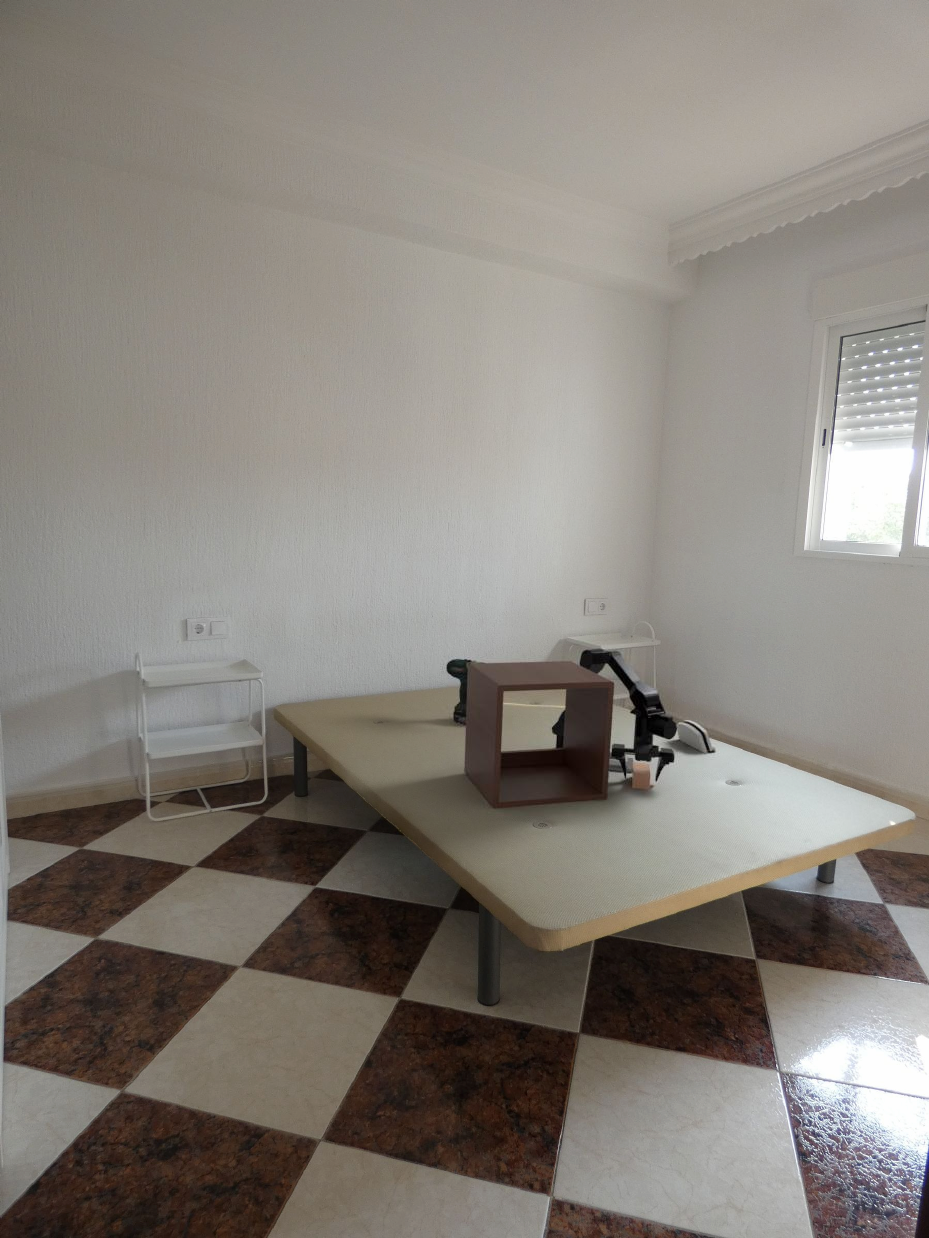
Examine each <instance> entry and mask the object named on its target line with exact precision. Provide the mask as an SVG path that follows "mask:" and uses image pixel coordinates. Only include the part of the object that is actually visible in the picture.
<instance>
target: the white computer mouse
mask: <svg viewBox="0 0 929 1238" xmlns="http://www.w3.org/2000/svg"><path fill="white" fill-rule="evenodd" d="M676 727H677V735H678V740H679V741H681V742H683V743H684V744H686V745H688V746H690V747H692V748H694V749H695V748H696V750H697V749H698V751H699V752H702V753H703V754H707V753H708V751H710V752H713V753H717V749H716V747H714V746H713V745H712V742H711V739H710V737H709V736H710V735H709V733H708V731H707V730H706V729H705V728H704V727H703V726H702V725H700V724H698V723H697V722H695V721H693V720H689V719H688V720H687V719H686V720H682V721H681V722H680V721H679V722H678V723H676Z"/></svg>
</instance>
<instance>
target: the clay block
mask: <svg viewBox="0 0 929 1238" xmlns="http://www.w3.org/2000/svg"><path fill="white" fill-rule="evenodd" d="M631 784H632V786H631V787H632V789H639V790H650V785H651V767H650V764H649V763H648V762H647V763H646V762H638V761H637V762H636V761H635V762H634V761H633V769H632V773H631Z"/></svg>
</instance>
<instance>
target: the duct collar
mask: <svg viewBox="0 0 929 1238" xmlns="http://www.w3.org/2000/svg"><path fill="white" fill-rule="evenodd" d="M611 752H612V751H610V761H609V771H611V772H612V771H613V772H622V773H623V769H622V766H621V764H620V762H619V760H616V759H615V757H612V756H611ZM625 760H626V773H631V774H632V769H633V762H634V758H633V757H628V754H625Z"/></svg>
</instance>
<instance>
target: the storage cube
mask: <svg viewBox="0 0 929 1238" xmlns="http://www.w3.org/2000/svg"><path fill="white" fill-rule="evenodd" d="M551 690H552V691H554V690H556V691H557V690H565V702H564V704H565V705H564V710H565V721H564V739H563V748H556V747H555V748H536V749H535V748H534V749H521V750H520V749H519V750H506V751H504V750H502V743H503V741H502V739H503V712H504V693H505V692H523V691H525V692H526V691H528V692H529V691H551ZM614 693H615V682H613V681H612V680H610V679H608V678H606V677H604V676H602V675H601V674H600V675H599V673H598V674H596V673H594V672H592V671H590V670H588V669H586V668H584V667H582V666H580V664H577V663H576V662H573V661H572V660H564V661H563V660H559V661H525V662H524V661H523V662H521V661H520V662H516V661H515V662H514V661H513V662H483V663H474V664H469V665H468V679H467V708H466V724H465V740H464V741H465V742H464V767H463V768H464V770H463V771H464V773H465V774H466V776H467V777H468V778H469V779H470V781H471V782H472V783H473V784H474V785H475V787H476V788H477V789H478V790H479V791H480V793H481V794H482V795H483V796H484V798H485V799H486V800H487V802H488V803H489V804H490V806H492V808H493V809H496V810H497V809H505V808H518V807H531V806H542V805H543V806H544V805H556V804H558V805H559V804H566V803H567V804H569V803H581V802H592V801H605V800H607V799H608V794H609V793H608V790H609V775H610V774H609V773H610V770H609V761H610V752H611V746H612V744H611V742H612V741H611V740H612V726H613V711H614V695H615V694H614Z"/></svg>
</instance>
